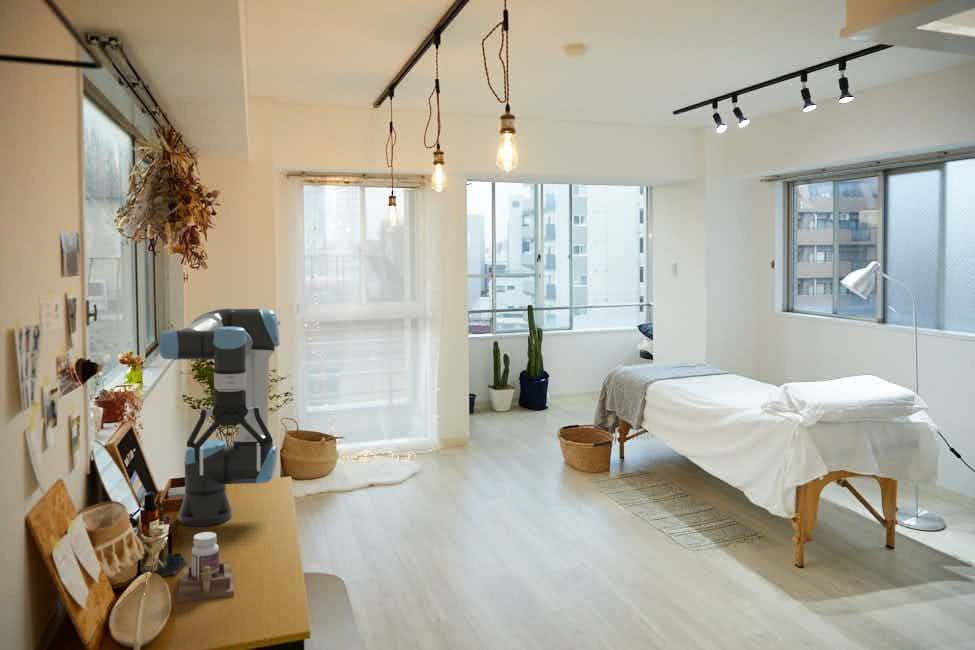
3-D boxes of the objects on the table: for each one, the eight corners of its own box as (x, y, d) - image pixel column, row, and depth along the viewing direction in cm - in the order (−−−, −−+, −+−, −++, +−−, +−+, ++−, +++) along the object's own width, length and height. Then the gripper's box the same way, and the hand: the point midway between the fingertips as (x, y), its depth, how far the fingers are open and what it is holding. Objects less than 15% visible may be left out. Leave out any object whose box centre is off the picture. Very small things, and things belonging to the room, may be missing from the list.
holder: (180, 578, 180) (180, 550, 179) (231, 572, 184) (231, 545, 184) (178, 603, 167) (178, 572, 166) (233, 596, 171) (233, 566, 170)
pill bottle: (223, 578, 177) (224, 532, 177) (208, 588, 171) (209, 541, 171) (201, 574, 179) (201, 529, 178) (185, 585, 173) (185, 538, 172)
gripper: (175, 393, 174) (176, 480, 176) (283, 389, 183) (282, 472, 185) (176, 387, 181) (177, 471, 183) (280, 384, 190) (280, 463, 192)
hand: (230, 471), depth 184 cm, fingers open, 13 cm apart
